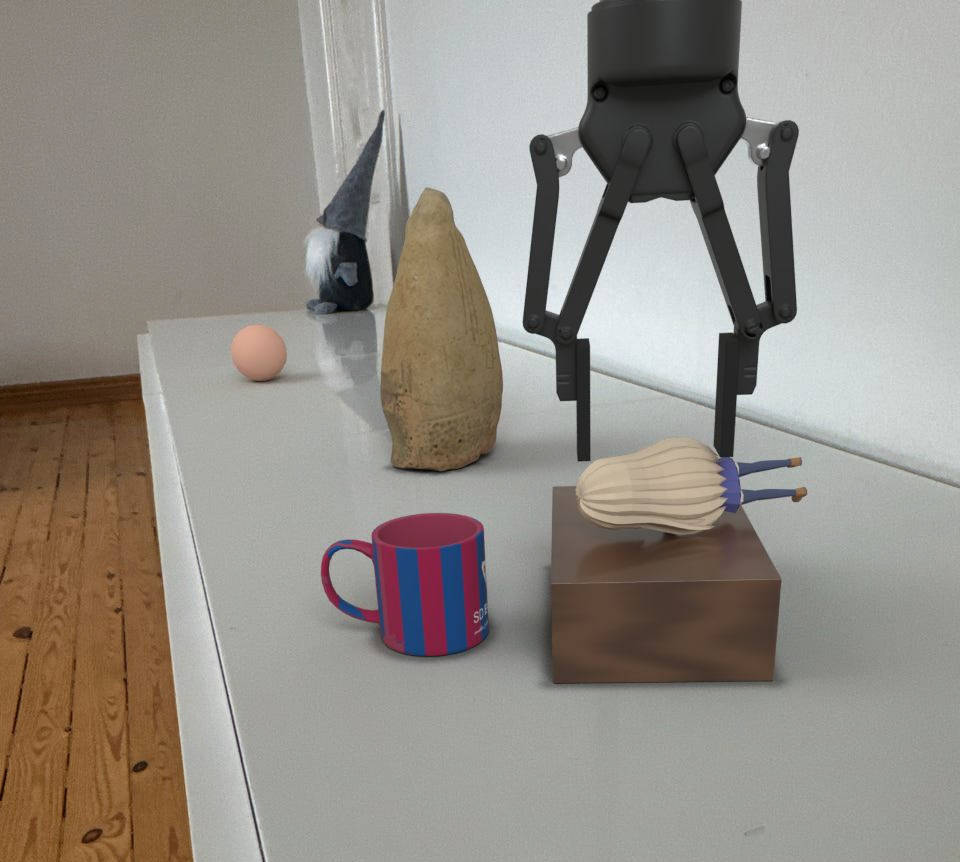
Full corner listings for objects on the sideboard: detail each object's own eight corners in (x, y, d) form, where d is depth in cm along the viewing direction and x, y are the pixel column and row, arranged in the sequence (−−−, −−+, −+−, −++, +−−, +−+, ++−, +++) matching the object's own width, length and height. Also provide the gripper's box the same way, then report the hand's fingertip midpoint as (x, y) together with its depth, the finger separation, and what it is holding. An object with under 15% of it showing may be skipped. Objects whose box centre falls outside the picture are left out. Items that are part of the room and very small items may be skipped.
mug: (481, 658, 59) (475, 549, 56) (317, 655, 60) (303, 549, 57) (495, 612, 65) (490, 512, 62) (346, 611, 66) (334, 512, 63)
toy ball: (279, 373, 152) (271, 319, 148) (298, 380, 145) (291, 323, 142) (228, 380, 148) (219, 325, 145) (246, 388, 142) (237, 330, 138)
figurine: (777, 440, 64) (557, 458, 60) (816, 419, 60) (582, 437, 56) (792, 529, 63) (572, 553, 59) (832, 515, 59) (598, 540, 55)
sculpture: (475, 439, 108) (462, 184, 97) (525, 461, 98) (516, 182, 88) (370, 456, 103) (344, 191, 93) (411, 481, 94) (388, 190, 83)
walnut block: (723, 563, 71) (728, 481, 68) (773, 681, 54) (781, 578, 52) (554, 567, 72) (552, 486, 69) (553, 683, 55) (550, 583, 53)
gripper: (856, -7, 52) (815, 432, 61) (464, 19, 53) (484, 442, 63) (901, -34, 45) (846, 465, 54) (451, -3, 46) (476, 475, 56)
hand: (652, 452), depth 59 cm, fingers closed on figurine, 7 cm apart
